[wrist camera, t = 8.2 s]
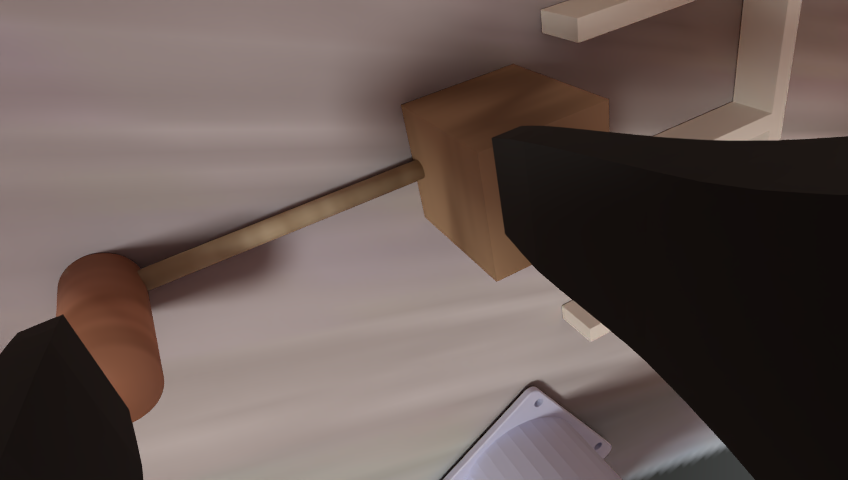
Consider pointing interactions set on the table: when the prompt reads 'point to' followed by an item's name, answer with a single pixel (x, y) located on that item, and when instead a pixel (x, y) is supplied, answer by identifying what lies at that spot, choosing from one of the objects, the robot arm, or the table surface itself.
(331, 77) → the table surface
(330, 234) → the table surface
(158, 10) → the table surface
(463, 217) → the tethered block
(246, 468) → the table surface
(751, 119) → the lane rack
